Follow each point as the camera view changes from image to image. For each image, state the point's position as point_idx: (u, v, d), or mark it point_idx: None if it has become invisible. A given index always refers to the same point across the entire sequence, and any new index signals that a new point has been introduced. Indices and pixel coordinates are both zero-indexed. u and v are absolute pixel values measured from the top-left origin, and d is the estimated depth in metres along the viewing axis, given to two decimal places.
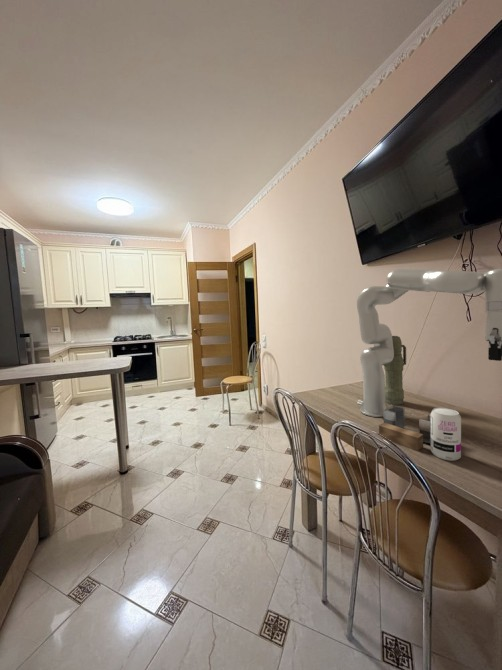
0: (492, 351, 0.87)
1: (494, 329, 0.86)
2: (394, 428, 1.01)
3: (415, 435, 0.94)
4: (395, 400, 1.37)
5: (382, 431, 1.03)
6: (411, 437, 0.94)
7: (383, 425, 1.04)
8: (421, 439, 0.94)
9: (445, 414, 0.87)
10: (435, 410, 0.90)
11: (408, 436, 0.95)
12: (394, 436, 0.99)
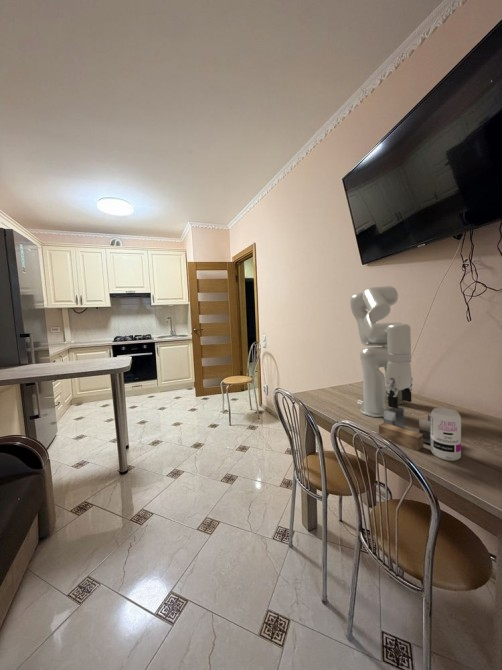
0: (390, 399, 0.95)
1: (391, 379, 0.95)
2: (394, 428, 1.01)
3: (415, 435, 0.94)
4: None
5: (382, 431, 1.03)
6: (411, 437, 0.94)
7: (383, 425, 1.04)
8: (421, 439, 0.94)
9: (445, 414, 0.87)
10: (435, 410, 0.90)
11: (408, 436, 0.95)
12: (394, 436, 0.99)
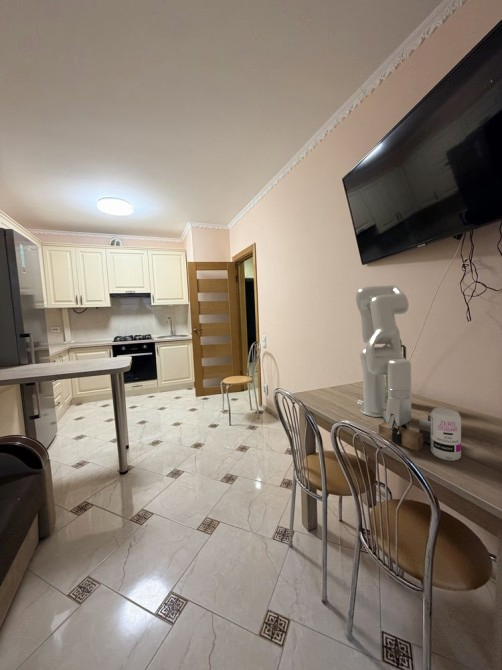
0: (394, 435, 0.98)
1: (392, 417, 0.96)
2: None
3: (415, 434, 0.94)
4: None
5: (382, 430, 1.03)
6: (411, 437, 0.94)
7: (383, 425, 1.04)
8: (421, 438, 0.94)
9: (445, 414, 0.87)
10: (435, 410, 0.90)
11: (408, 436, 0.95)
12: None
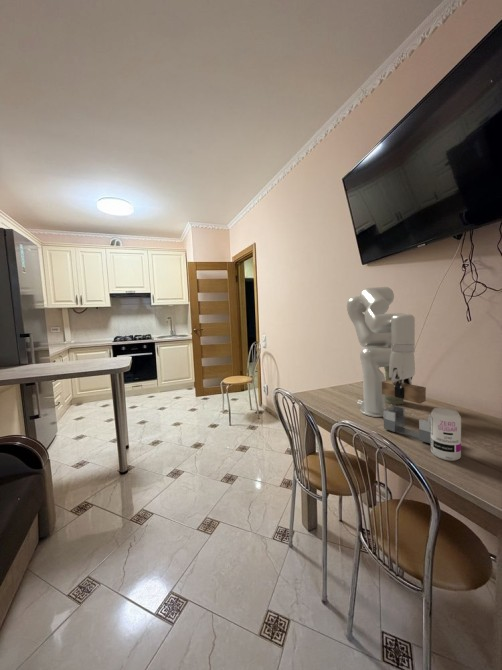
0: (397, 389, 0.99)
1: (395, 371, 0.97)
2: None
3: (418, 388, 0.95)
4: (395, 400, 1.37)
5: (385, 387, 1.04)
6: (414, 390, 0.95)
7: (386, 381, 1.05)
8: (423, 392, 0.95)
9: (445, 414, 0.87)
10: (435, 410, 0.90)
11: (410, 389, 0.96)
12: None
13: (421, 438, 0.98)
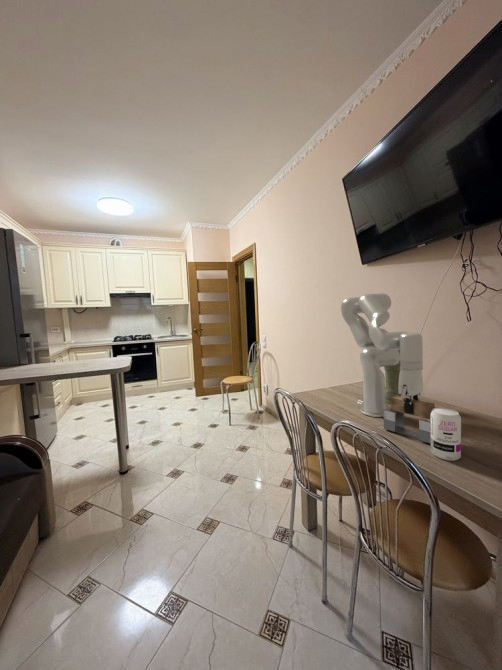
0: (406, 405, 1.02)
1: (404, 388, 1.01)
2: None
3: (427, 404, 0.99)
4: None
5: (394, 402, 1.07)
6: (423, 406, 0.98)
7: (395, 397, 1.08)
8: (433, 408, 0.98)
9: (445, 414, 0.87)
10: (435, 410, 0.90)
11: (420, 405, 0.99)
12: None
13: (421, 438, 0.98)
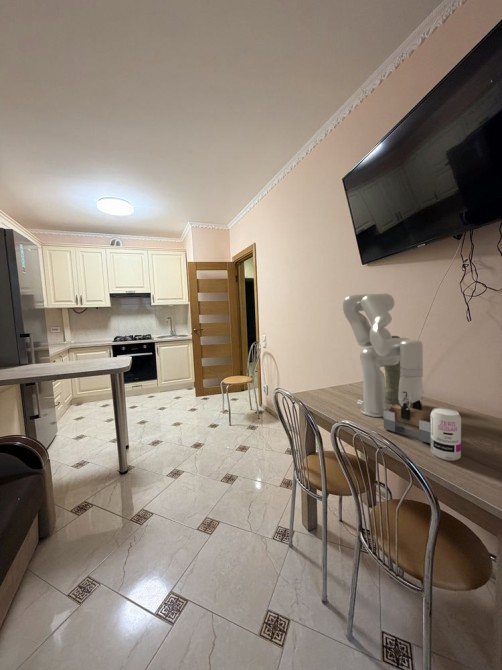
0: (403, 411, 1.01)
1: (404, 393, 1.01)
2: None
3: (426, 414, 0.99)
4: (395, 400, 1.37)
5: (394, 411, 1.08)
6: (423, 416, 0.99)
7: (395, 406, 1.09)
8: None
9: (445, 414, 0.87)
10: (435, 410, 0.90)
11: (419, 415, 1.00)
12: None
13: (421, 438, 0.98)
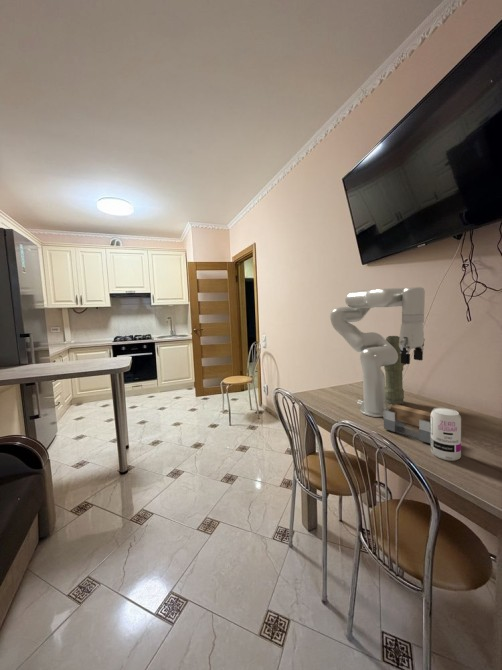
0: (403, 356, 1.04)
1: (404, 338, 1.04)
2: (405, 408, 1.05)
3: (426, 414, 0.99)
4: (395, 400, 1.37)
5: (394, 411, 1.08)
6: (423, 416, 0.99)
7: (395, 406, 1.09)
8: None
9: (445, 414, 0.87)
10: (435, 410, 0.90)
11: (419, 415, 1.00)
12: (406, 415, 1.04)
13: (421, 438, 0.98)
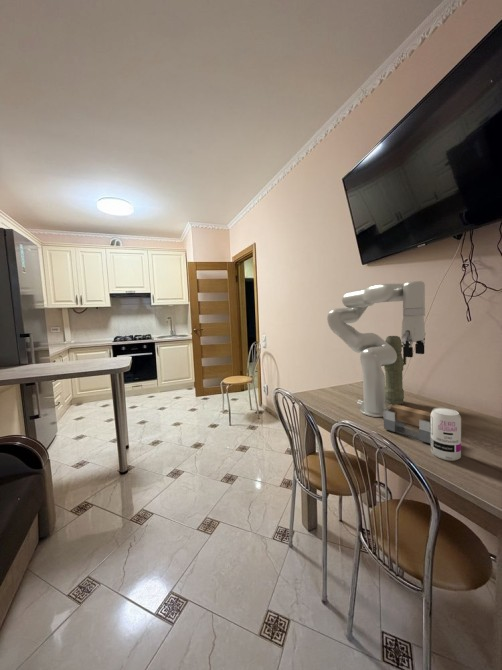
0: (406, 349, 1.05)
1: (407, 331, 1.05)
2: (405, 408, 1.05)
3: (426, 414, 0.99)
4: (395, 400, 1.37)
5: (394, 411, 1.08)
6: (423, 416, 0.99)
7: (395, 406, 1.09)
8: None
9: (445, 414, 0.87)
10: (435, 410, 0.90)
11: (419, 415, 1.00)
12: (406, 415, 1.04)
13: (421, 438, 0.98)
